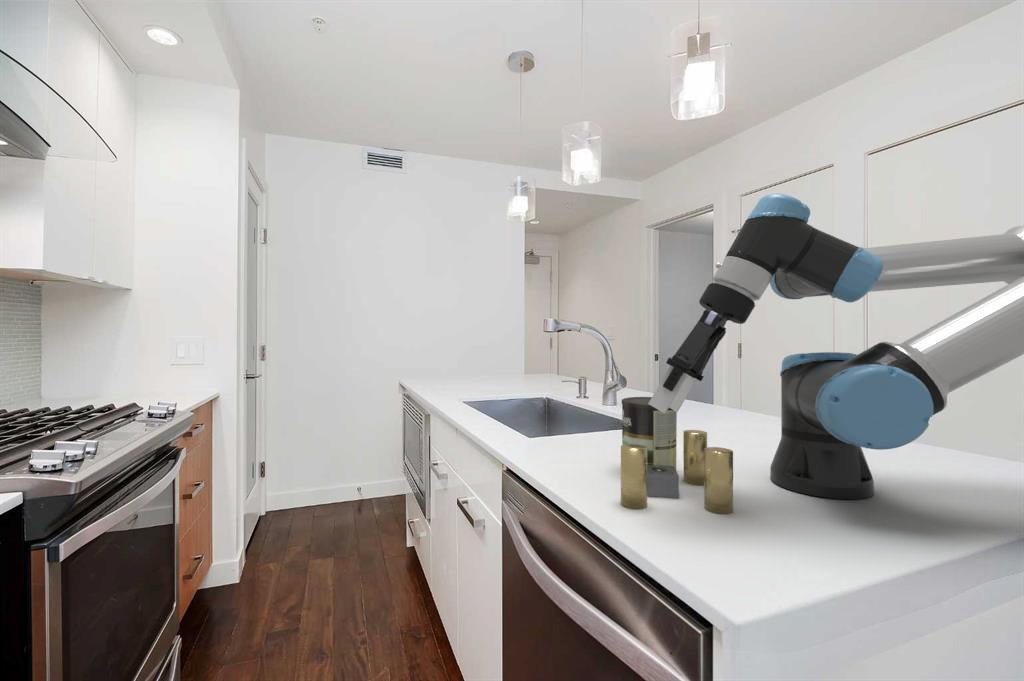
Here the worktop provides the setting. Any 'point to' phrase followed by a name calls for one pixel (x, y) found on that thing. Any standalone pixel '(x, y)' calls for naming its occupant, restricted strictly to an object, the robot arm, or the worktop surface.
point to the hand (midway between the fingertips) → (663, 408)
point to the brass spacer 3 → (718, 480)
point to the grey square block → (662, 481)
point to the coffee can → (650, 430)
